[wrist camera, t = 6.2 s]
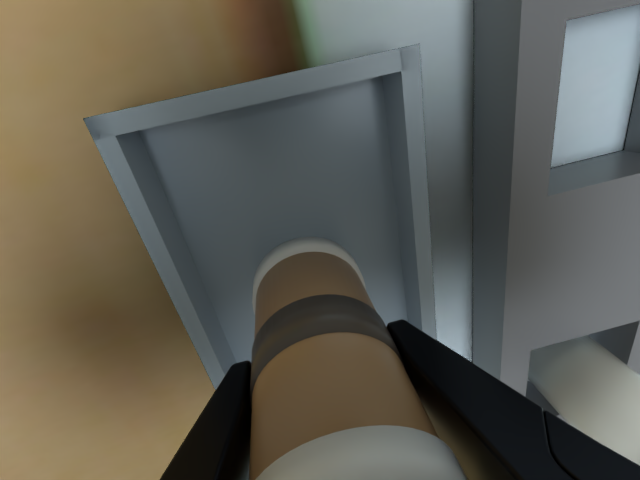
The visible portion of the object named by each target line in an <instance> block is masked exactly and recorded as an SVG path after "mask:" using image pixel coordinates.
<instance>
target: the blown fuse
mask: <svg viewBox="0 0 640 480" xmlns="http://www.w3.org/2000/svg"><path fill="white" fill-rule="evenodd" d="M252 304H253V310H254V314H255V334H254V342H253V347H252V356H251V377H250V399H249V402H250V407H251V409H252V413H251V439H250V465H249V480H468V479H467V477H466V475H465V473H464V471H463V469H462V467H461V465H460V463H459V461H458V459H457V457H456V456H455V454H454V453H453V451H452V450H451V448H450V447H449V446H448V445H447V444H446V443H445V442H444V441H442V440H440V438H439V436H438V434H437V432H436V430H435V428H434V426H433V424H432V422H431V420H430V418H429V416H428V414H427V412H426V410H425V408H424V406H423V404H422V402H421V400H420V398H419V396H418V394H417V392H416V390H415V388H414V386H413V384H412V382H411V380H410V378H409V376H408V374H407V372H406V370H405V363H404V361H403V358H402V357H401V355H400V353H399V351H398V349H397V347H396V345H395V343H394V341H393V339H392V337H391V335H390V333H389V331H388V329H387V327H386V325H385V323H384V321H383V320H382V318H381V317H380V315H379V314H378V313H377V312H376V310H375V308H374V306H373V304H372V302H371V300H370V298H369V296H368V294H367V292H366V287H365V282H364V279H363V276H362V274H361V272H360V270H359V268H358V266H357V264H356V262H355V260H354V259H353V257H352V256H351V255H350V253H349V252H348V251H347V250H346V249H345V248H343V247H342V246H341V245H339V244H337V243H335V242H333V241H331V240H328V239H325V238H320V237H300V238H295V239H292V240H289V241H286V242H284V243H282V244H280V245H278V246H277V247H275V248H274V249H272V250H271V251H270V252H269V253H268V254H267V255H266V256H265V257H264V258H263V259H262V261H261V262H260V264H259V266H258V267H257V270H256V272H255V275H254V280H253V297H252Z"/></svg>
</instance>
